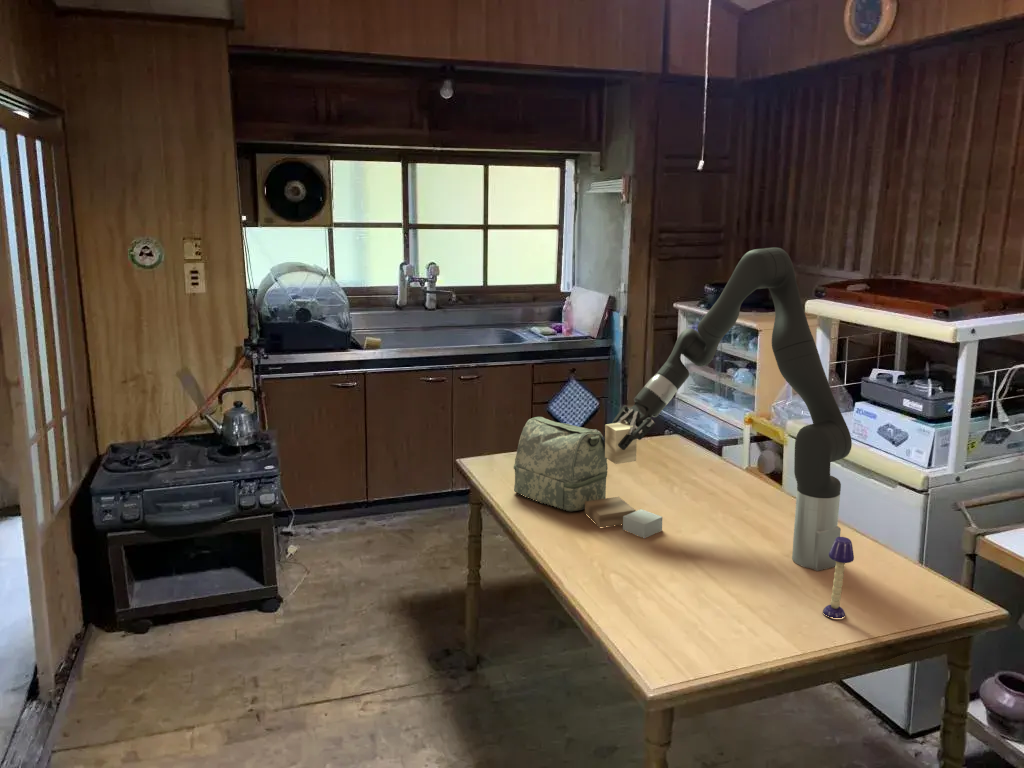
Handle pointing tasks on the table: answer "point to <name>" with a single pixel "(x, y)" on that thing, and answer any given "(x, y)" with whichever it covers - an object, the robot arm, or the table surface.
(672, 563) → the table surface
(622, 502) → the walnut block
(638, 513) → the grey block
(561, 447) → the lunch bag
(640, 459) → the table surface
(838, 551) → the toy lamp
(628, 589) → the table surface
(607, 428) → the oak block
